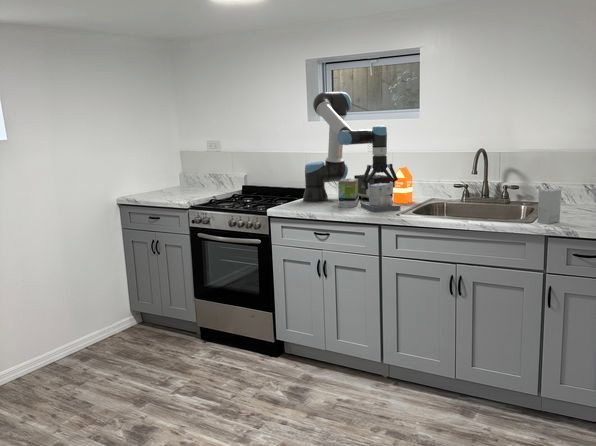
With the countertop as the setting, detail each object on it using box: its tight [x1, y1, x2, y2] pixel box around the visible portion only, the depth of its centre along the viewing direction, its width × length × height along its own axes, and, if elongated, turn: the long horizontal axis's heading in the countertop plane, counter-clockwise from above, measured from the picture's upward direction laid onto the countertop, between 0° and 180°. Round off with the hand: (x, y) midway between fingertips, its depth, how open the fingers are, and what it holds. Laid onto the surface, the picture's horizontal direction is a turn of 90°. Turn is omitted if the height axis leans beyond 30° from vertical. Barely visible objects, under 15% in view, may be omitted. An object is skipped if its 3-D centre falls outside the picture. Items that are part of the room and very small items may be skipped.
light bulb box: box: [368, 183, 390, 205], centre depth 299 cm, size 11×7×11 cm, turn 136°
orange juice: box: [393, 166, 413, 204], centre depth 319 cm, size 8×9×20 cm
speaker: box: [353, 173, 394, 200], centre depth 334 cm, size 22×13×15 cm, turn 28°
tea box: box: [337, 178, 359, 208], centre depth 316 cm, size 15×10×15 cm, turn 168°
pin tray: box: [360, 196, 401, 213], centre depth 300 cm, size 19×15×8 cm
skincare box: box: [537, 187, 562, 225], centre depth 246 cm, size 8×6×15 cm
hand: (379, 194), depth 299 cm, fingers open, 13 cm apart
